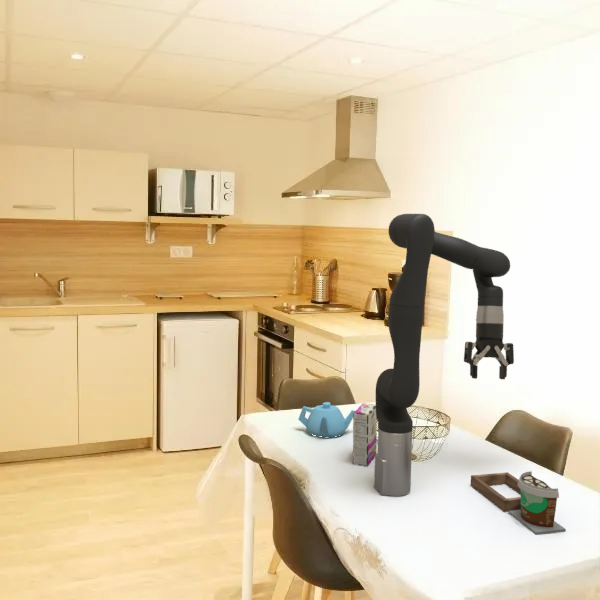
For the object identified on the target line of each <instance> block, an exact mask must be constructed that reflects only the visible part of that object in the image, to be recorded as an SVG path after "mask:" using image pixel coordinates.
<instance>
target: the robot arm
mask: <svg viewBox="0 0 600 600" xmlns="http://www.w3.org/2000/svg"><path fill="white" fill-rule="evenodd" d="M435 230H436V229H435V223H434V221H433V219H432V218H431V217H430V216H429V215H427V214H425V213H402V214H398V215H396V216H395V217H394V218H392V220H391V221H390V223H389V226H388V237H389V239H390V240H391V242H392V244H393V245H396V246H397V247H399V248H403V249H406V254H405V262H404V267H403V271H402V273H401V274H400V276H399V279H398V280H397V282H396V284H395V286H394V287H393V289H392V291H391V293H390V296H389V304H388V315H387V323H388V324H387V325H388V331H389V334H390V339H391V344H392V346H393V347H392V348H393V357H394V358H393V368H387V369H385V370H383V371H382V372H381V373H380V374H379V376H378V377H377V380H376V383H375V405H376V417H377V422H378V424H377V426H378V427H377V428H378V429H377V430H378V431H377V432H378V433H377V437H378V438H377V452H376V454H375V457H374V472H373V473H374V476H373V478H374V480H373V487H374V488H375V489H376V490H377V492H378V493H379V494H380V495H381V496H385V495H386V496H392V497H400V496H401V497H402V496H406V495H408V494H410V493H411V487H412V460H413V459H412V455H413V454H412V452H413V451H412V450H413V427H414V425H413V418H412V417H411V416H410V414H409V412H408V408H410V407H412V406H413V405H414V404H415V403H416V401H417V399H418V397H419V392H420V357H421V356H420V352H421V345H422V344H421V342H422V329H423V322H424V314H425V299H426V290H427V289H426V288H427V282H428V275H429V274H428V272H429V267H430V261H431V256H432V255H433V256H436V257H438V258H441V259H443V260H446V261H448V262H450V263H453V264H455V265H458V266H460V267H462V268H464V269H469V270H472V273H473V278H474V281H475V286H476V289H477V290H476V291H477V307H476V308H477V309H476V315H475V316H476V319H475V322H476V323H475V342H472V341H465V343H464V355H463V362H464V363H467V364H469V375H470V377H471V378H472V379H475V380H476V379H478V370H479V369H478V368H479V367H478V364H479V362H480V361H481V360H482V359H484V358H494V359H496V360H497V361H498V363H499V372H498V376H499V377H498V379H499V380H506V378H507V376H508V367H509V365H513V364H515V363H514V362H515V356H514V355H515V354H514V351H515V350H514V344H513V343H512V342H506V343H504V341H503V339H504V316H505V315H504V289H503V288H502V287H501V286H499V285H494V282H493V278H499V277H503V276H505V275H507V274H508V272H509V271H510V268H511V261H510V259H509V258H508V256H507V255H506V254H505V253H504V252H502V251H499V250H496V249H493V248H492V249H491V248H488V247H483V246H478V245H477V244H475V243H472V242H470V241H468V240H466V239H463V238H460V237H456V236H452V235H448V234H445V233H441V232H437V231H435ZM474 349H476V352H475V353H474V354H473V350H474ZM503 349H504V351H505V355H504V354H503V352H502V351H503Z"/></svg>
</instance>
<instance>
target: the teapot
mask: <svg viewBox="0 0 600 600" xmlns="http://www.w3.org/2000/svg"><path fill="white" fill-rule="evenodd" d="M355 411H356V410H351V411H350V412H349V413H348V415H347V416H346V417H344V415H343V413H342V412H341V409H340V408H339V407H337V406H336V405H331V402H330V401H326V402H322V404H320V405H316V406H314V408H312V407H309V406H305V405H303V407H302V408H301V412H300V414H299V416H298V421H299V422H301V424H302V425H303V426H305V428H306V430H307V432H308V433H309V434H310V433H311V434H313V435H316V436H322V437H335V436H339V435H341V436H342V435H344V433H345V432H346V430H347V429H348V428H349V426H350V424H351V422H352V421H353V413H354V412H355ZM307 413H309V416H308V417H306V414H307ZM311 434H310V435H311ZM313 435H312V436H313ZM339 437H340V436H339ZM335 438H336V437H335Z"/></svg>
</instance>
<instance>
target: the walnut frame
mask: <svg viewBox="0 0 600 600" xmlns="http://www.w3.org/2000/svg"><path fill="white" fill-rule="evenodd" d="M518 480H519V478H516V477H515V476H514V475H512V474H511V473H509V472H496V473H486V474H485V473H484V474H475V475H474V474H472V475H470V487H471V488H473V489H474V490H475V491H476V492H477V493H479V494H480V495H482V496H483V497H484V498H485V499H487V500H488V501H490V503H492V504H493V505H494V506H495V507H497V508H498V509H500V511H502V512H503V513H506V512H507V513H508V511H512V510H521V492H520V488H519V487H518ZM502 484H506V487H508V486H509V487H508V488H509V489H511V488H512V489H511V490H513V491H514V492H515V491H516V492H515V493H517V494H519V496H518V497H509V498H507V497H505V496H504V495H502V494H501V493H499V491H497V490H496V489H494V487H493V485H494V486H503V485H502ZM491 486H492V487H491Z"/></svg>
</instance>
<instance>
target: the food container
mask: <svg viewBox="0 0 600 600" xmlns="http://www.w3.org/2000/svg"><path fill="white" fill-rule="evenodd" d="M532 473H533V472H532V470H531V471H525V472H523V473H521V474H520V476H519V478H518V487H519V488H520V492H521V495H520V497H521V517H522V519H523V520H524V521H526V522H527V523H530V524H532V525H536V526H540V527H553V525H554V521H555V517H556V509H557V503H558V502H557V500H558V498H560V494H559V488H551V486H549V485H548V484H547V482H545V481H544V480H541V479H539V478H537V477H535V476H534V475H532Z"/></svg>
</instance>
